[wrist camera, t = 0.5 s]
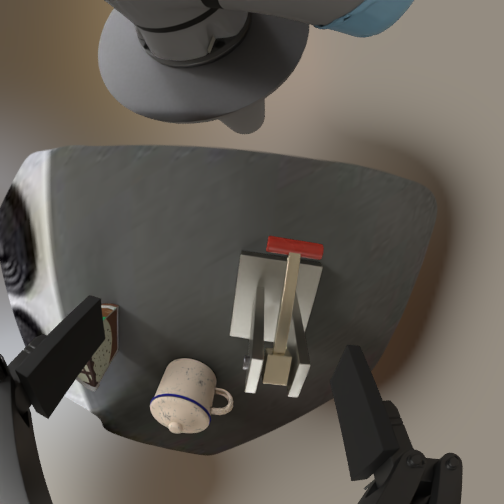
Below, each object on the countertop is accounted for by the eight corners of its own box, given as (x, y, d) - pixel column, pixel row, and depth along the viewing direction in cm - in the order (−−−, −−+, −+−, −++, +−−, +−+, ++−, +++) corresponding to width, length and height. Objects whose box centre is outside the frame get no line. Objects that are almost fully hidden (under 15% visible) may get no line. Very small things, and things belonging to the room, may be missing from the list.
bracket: (241, 250, 34) (225, 316, 20) (320, 262, 34) (352, 331, 20) (230, 329, 38) (215, 411, 24) (299, 338, 38) (311, 420, 24)
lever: (267, 237, 26) (269, 233, 24) (319, 245, 26) (325, 242, 24) (246, 372, 25) (246, 381, 23) (297, 377, 25) (301, 386, 23)
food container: (86, 284, 37) (49, 317, 28) (118, 297, 37) (85, 334, 28) (89, 342, 41) (62, 377, 32) (118, 355, 42) (94, 394, 32)
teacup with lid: (169, 389, 43) (151, 439, 32) (161, 352, 40) (137, 405, 29) (235, 397, 43) (229, 452, 32) (236, 361, 40) (228, 420, 29)
